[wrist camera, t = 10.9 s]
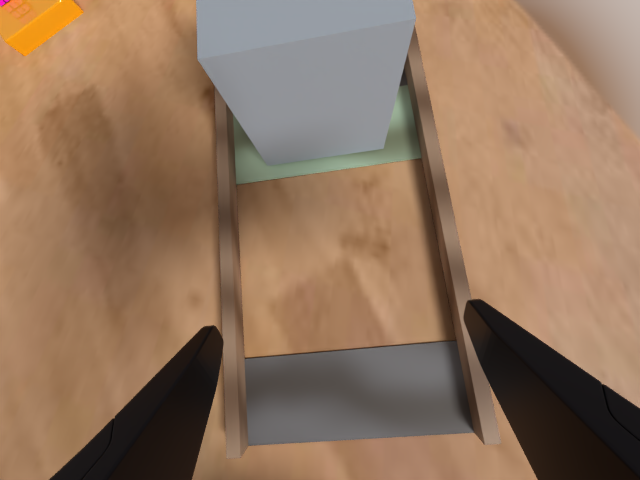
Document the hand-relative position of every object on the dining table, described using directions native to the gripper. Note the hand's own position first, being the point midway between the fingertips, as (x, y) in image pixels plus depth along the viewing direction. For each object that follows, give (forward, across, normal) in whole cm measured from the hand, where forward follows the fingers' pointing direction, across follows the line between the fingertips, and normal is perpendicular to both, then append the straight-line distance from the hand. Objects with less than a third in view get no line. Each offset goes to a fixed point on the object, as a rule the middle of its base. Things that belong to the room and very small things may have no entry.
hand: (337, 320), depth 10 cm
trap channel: (+13, 0, +3) cm, 13 cm away
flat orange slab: (+33, +30, -17) cm, 48 cm away
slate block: (+19, 0, -3) cm, 19 cm away
